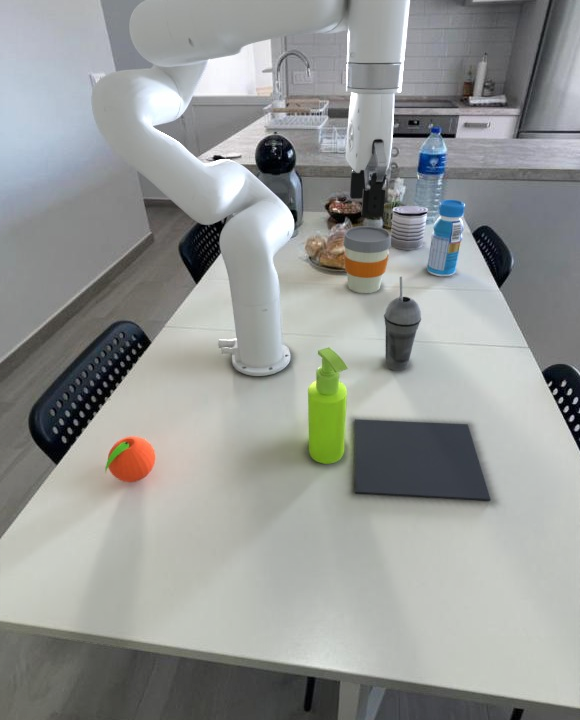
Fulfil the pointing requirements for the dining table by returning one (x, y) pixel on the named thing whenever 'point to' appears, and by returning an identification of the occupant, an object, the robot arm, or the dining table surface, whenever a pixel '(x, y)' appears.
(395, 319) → the beverage cup
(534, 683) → the dining table surface
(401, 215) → the white striped cylinder
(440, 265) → the beverage bottle
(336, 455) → the soap dispenser
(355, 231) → the reusable coffee cup
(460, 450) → the placemat
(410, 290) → the dining table surface
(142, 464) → the clementine
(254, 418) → the dining table surface
